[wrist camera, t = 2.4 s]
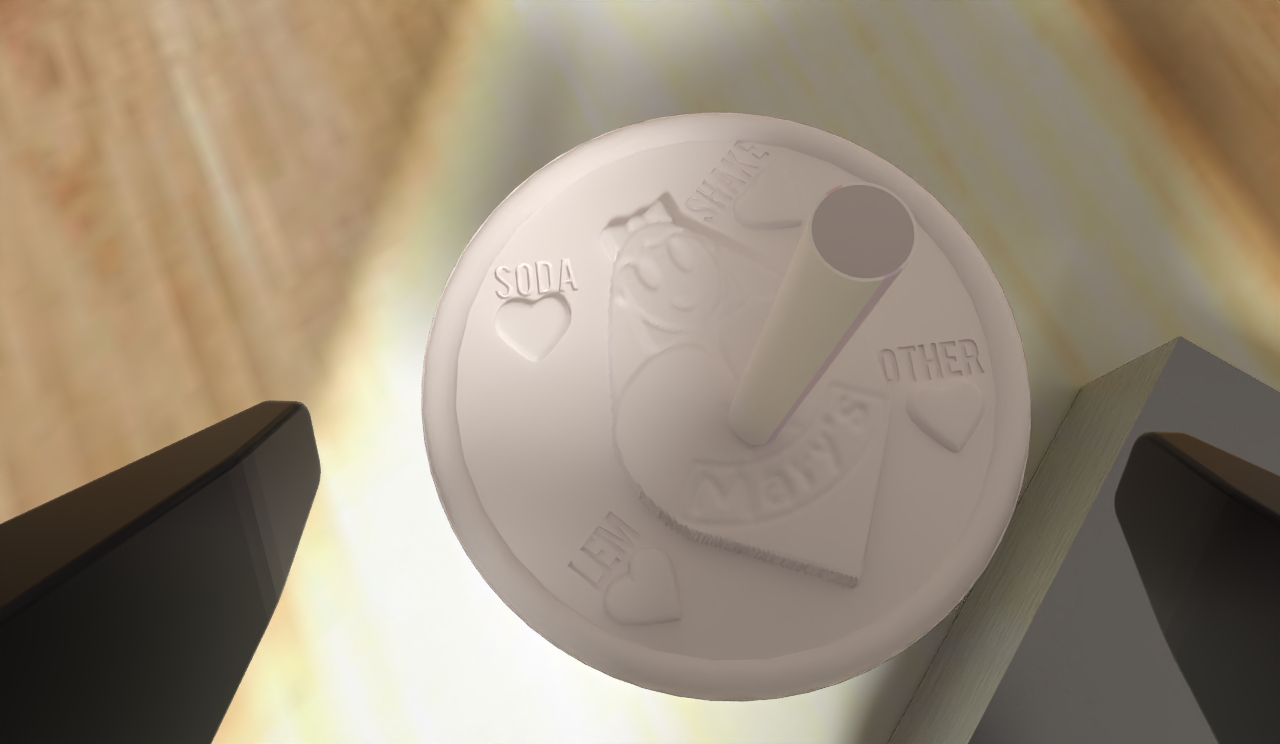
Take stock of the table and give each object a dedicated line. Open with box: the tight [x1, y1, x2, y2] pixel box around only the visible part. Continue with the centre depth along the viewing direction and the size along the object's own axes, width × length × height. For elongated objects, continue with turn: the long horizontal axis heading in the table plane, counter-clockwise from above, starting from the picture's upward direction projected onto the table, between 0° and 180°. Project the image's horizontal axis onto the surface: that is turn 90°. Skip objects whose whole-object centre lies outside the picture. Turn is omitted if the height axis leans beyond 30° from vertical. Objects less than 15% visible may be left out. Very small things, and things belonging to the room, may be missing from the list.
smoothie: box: [422, 112, 1031, 701], centre depth 11 cm, size 6×6×14 cm
